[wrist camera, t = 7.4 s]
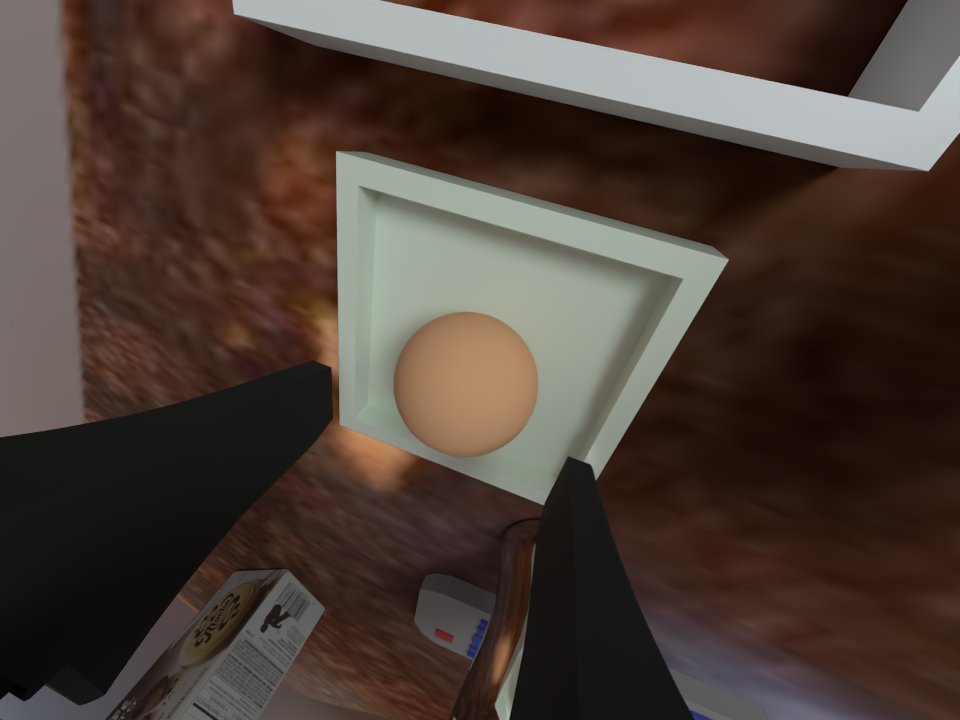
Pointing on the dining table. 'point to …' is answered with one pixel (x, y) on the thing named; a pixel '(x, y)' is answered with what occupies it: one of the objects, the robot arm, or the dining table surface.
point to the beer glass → (502, 632)
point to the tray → (508, 307)
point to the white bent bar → (672, 79)
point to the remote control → (465, 614)
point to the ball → (465, 384)
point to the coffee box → (228, 652)
